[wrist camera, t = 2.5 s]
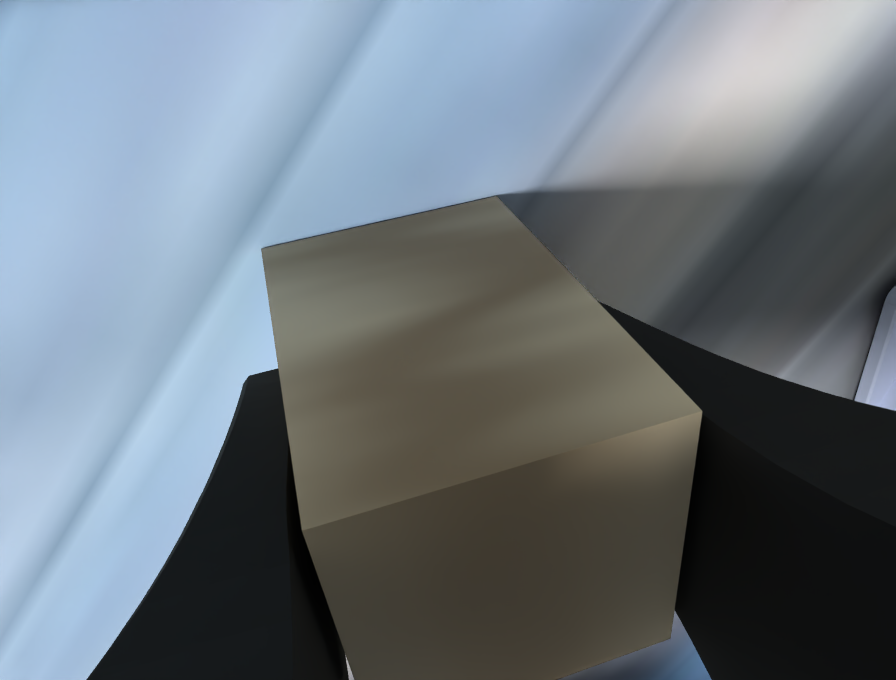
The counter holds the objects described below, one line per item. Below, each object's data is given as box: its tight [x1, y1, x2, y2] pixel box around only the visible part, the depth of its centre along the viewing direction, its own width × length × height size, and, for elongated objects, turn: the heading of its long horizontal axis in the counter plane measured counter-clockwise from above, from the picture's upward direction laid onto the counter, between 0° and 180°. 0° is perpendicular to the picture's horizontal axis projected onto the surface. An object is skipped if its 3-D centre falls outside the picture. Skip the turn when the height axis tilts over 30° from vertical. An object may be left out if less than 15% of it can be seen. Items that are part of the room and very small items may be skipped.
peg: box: [261, 196, 702, 680], centre depth 10 cm, size 4×4×6 cm
